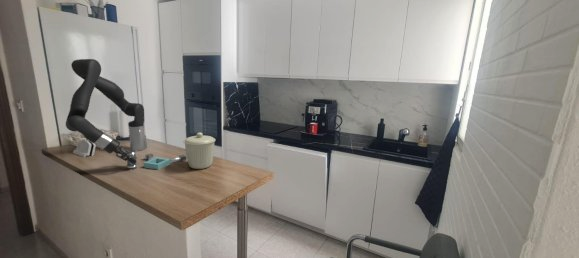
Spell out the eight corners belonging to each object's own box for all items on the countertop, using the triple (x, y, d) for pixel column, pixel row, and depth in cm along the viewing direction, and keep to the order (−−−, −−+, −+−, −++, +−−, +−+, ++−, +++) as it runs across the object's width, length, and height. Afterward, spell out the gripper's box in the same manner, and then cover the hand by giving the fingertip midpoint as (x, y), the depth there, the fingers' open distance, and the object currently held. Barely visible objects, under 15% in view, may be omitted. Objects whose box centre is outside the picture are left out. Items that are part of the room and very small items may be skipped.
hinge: (72, 152, 159) (76, 138, 160) (81, 153, 163) (85, 139, 164) (84, 157, 151) (88, 142, 152) (93, 158, 155) (97, 143, 156)
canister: (206, 173, 135) (205, 137, 130) (178, 169, 138) (175, 134, 134) (221, 162, 152) (220, 130, 148) (195, 159, 156) (194, 128, 151)
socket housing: (156, 161, 149) (156, 157, 148) (170, 163, 147) (170, 159, 146) (143, 167, 139) (143, 162, 139) (158, 169, 137) (157, 164, 136)
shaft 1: (158, 162, 147) (157, 158, 147) (151, 164, 145) (150, 159, 144) (151, 157, 156) (151, 153, 155) (144, 159, 153) (144, 154, 152)
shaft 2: (167, 164, 145) (166, 160, 144) (164, 162, 148) (164, 158, 147) (187, 160, 154) (186, 155, 153) (184, 158, 156) (184, 154, 156)
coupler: (132, 166, 140) (130, 150, 138) (139, 167, 139) (137, 151, 137) (125, 169, 136) (123, 152, 134) (132, 170, 135) (130, 153, 133)
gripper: (111, 141, 124) (140, 159, 132) (113, 135, 136) (140, 152, 144) (99, 152, 122) (129, 170, 131) (103, 145, 134) (130, 162, 143)
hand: (135, 160), depth 137 cm, fingers open, 5 cm apart
